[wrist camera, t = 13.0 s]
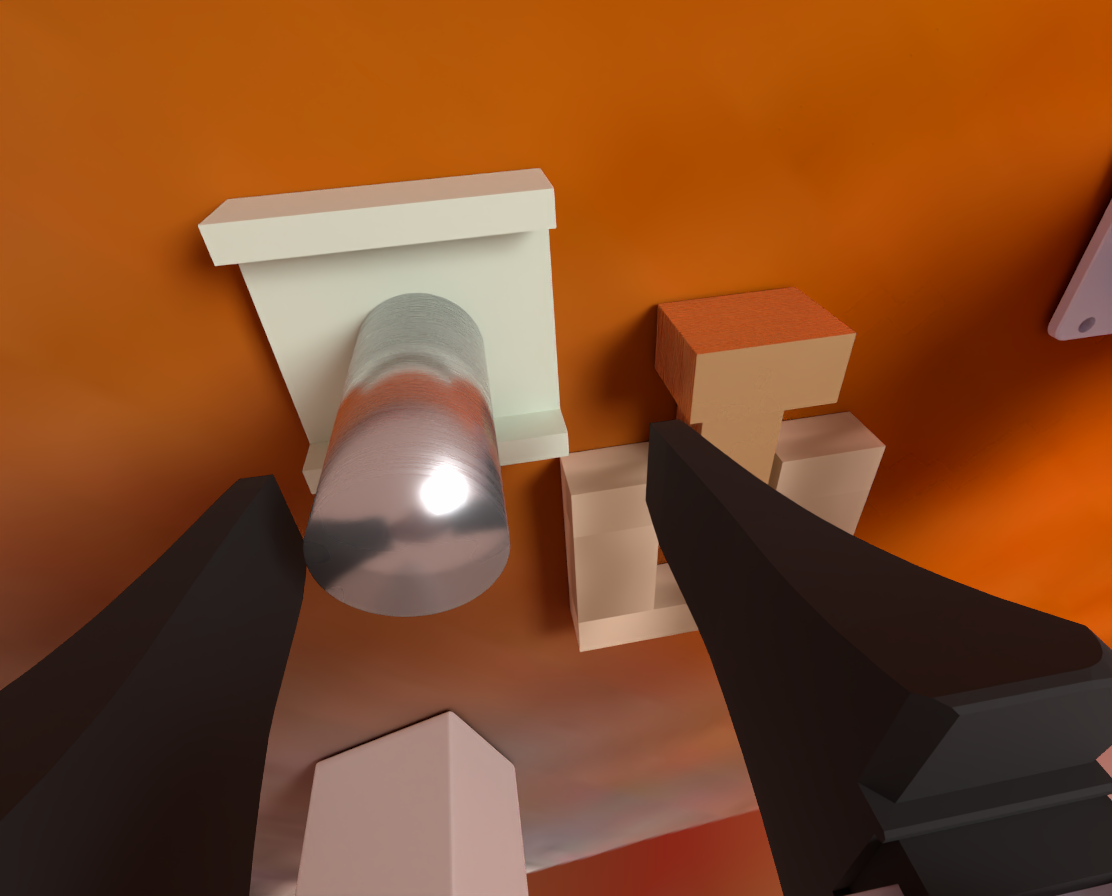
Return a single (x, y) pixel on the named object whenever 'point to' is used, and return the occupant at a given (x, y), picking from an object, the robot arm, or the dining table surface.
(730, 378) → the block
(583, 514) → the socket block
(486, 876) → the milk carton
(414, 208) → the pad
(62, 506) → the dining table surface
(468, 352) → the peg
